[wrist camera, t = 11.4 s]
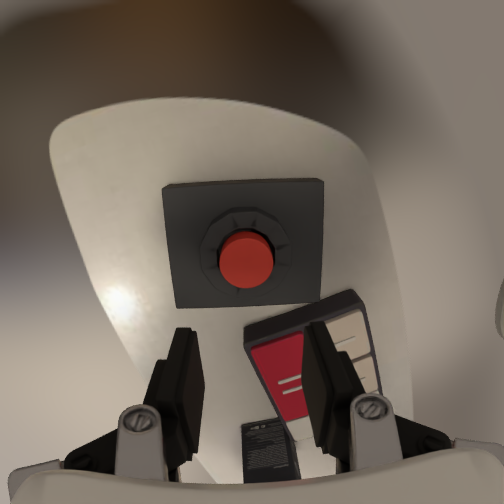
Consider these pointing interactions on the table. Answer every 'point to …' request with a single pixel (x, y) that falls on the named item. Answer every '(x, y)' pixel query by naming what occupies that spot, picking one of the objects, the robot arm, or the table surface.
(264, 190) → the bell block
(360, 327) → the calculator
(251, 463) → the box
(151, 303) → the table surface
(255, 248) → the bell button
